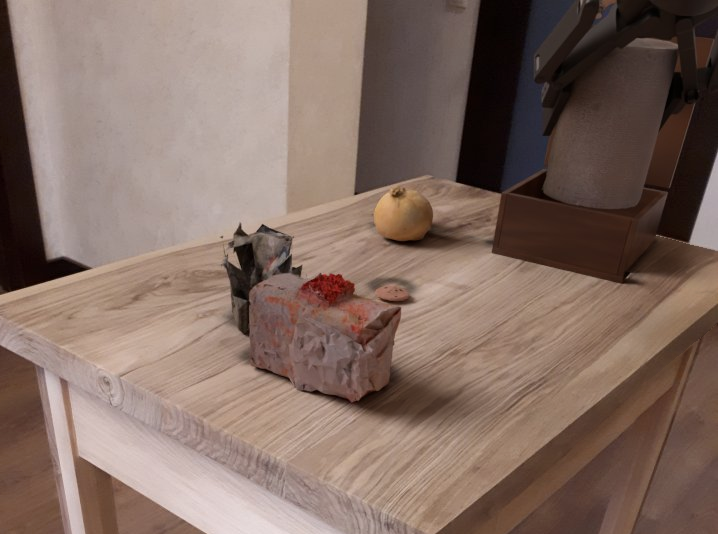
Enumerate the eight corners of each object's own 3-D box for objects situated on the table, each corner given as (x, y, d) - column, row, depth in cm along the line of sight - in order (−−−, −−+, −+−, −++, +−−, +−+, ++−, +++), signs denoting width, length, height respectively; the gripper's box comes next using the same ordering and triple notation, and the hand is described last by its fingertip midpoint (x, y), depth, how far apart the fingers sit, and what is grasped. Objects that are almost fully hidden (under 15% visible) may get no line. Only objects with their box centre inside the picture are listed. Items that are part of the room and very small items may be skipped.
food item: (405, 384, 74) (416, 282, 69) (361, 418, 69) (370, 311, 63) (285, 344, 80) (287, 247, 74) (236, 373, 74) (234, 270, 68)
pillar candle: (522, 187, 81) (552, 16, 72) (595, 180, 85) (632, 17, 76) (586, 214, 74) (628, 29, 66) (662, 205, 78) (711, 29, 69)
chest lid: (713, 38, 97) (714, 39, 98) (574, 23, 104) (576, 23, 105) (668, 188, 107) (669, 188, 107) (543, 165, 113) (545, 165, 114)
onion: (382, 225, 113) (387, 173, 109) (436, 234, 111) (443, 182, 107) (364, 241, 107) (369, 187, 103) (421, 251, 105) (428, 196, 101)
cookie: (407, 305, 90) (408, 296, 89) (371, 300, 90) (372, 292, 90) (411, 292, 93) (412, 284, 92) (377, 288, 93) (378, 280, 93)
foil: (178, 298, 79) (235, 185, 84) (215, 359, 89) (264, 254, 94) (283, 317, 76) (336, 197, 81) (309, 378, 85) (355, 268, 90)
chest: (621, 283, 100) (638, 220, 95) (491, 252, 107) (501, 192, 102) (651, 249, 112) (668, 191, 107) (532, 223, 118) (543, 168, 114)
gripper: (552, -32, 56) (485, 155, 78) (862, -13, 56) (708, 167, 78) (552, -124, 57) (486, 85, 79) (855, -104, 58) (706, 98, 80)
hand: (597, 126), depth 79 cm, fingers closed on pillar candle, 9 cm apart
